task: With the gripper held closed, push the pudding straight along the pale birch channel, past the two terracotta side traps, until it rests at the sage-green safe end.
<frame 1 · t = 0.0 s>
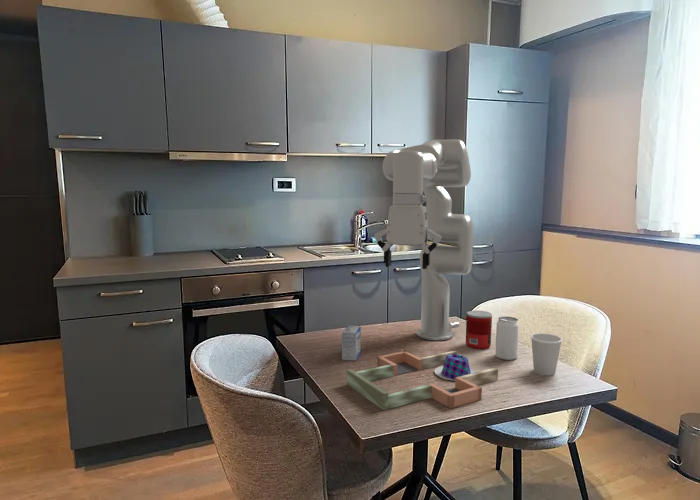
hand: (406, 267, 129), 31 cm above the table, tool pointing down, fingers open, 9 cm apart
canned food: (478, 346, 164), on the table
pudding: (456, 375, 140), on the table
track: (425, 381, 134), on the table
traps: (425, 381, 134), on the table
medicine box: (351, 357, 154), on the table
can: (506, 357, 154), on the table
dixie cup: (544, 372, 142), on the table
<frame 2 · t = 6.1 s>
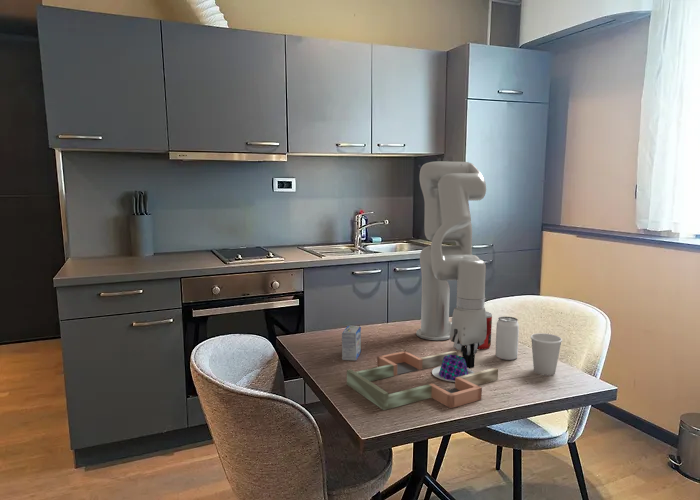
hand: (468, 366, 142), 1 cm above the table, tool pointing down, fingers closed
pudding: (453, 376, 139), on the table, touching gripper
everything else where it was.
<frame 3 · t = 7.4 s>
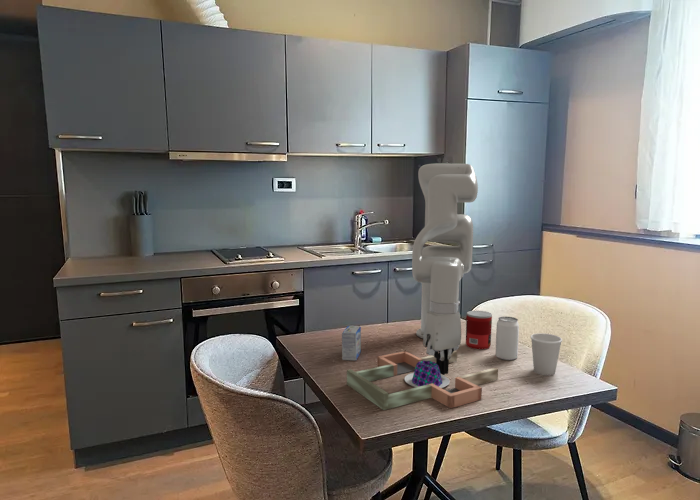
hand: (442, 372, 137), 1 cm above the table, tool pointing down, fingers closed
pudding: (426, 383, 134), on the table, touching gripper
everything else where it was.
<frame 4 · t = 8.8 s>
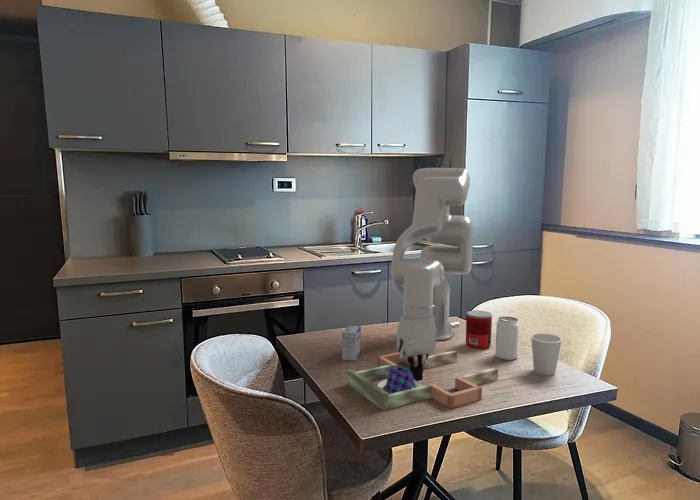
hand: (416, 378, 132), 1 cm above the table, tool pointing down, fingers closed
pudding: (400, 390, 130), on the table, touching gripper
everything else where it was.
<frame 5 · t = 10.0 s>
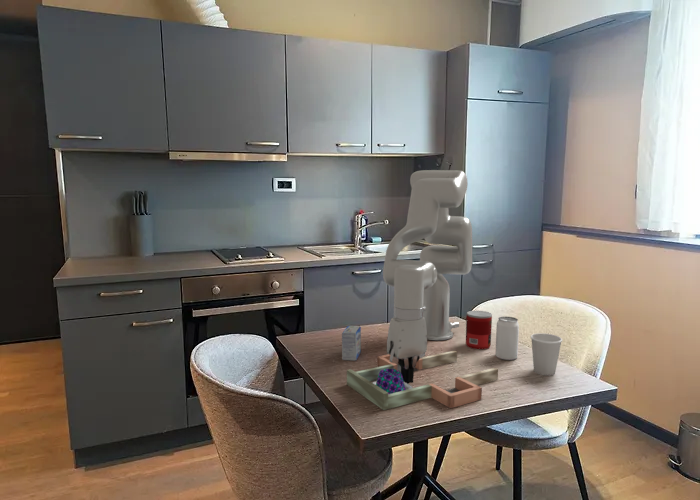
hand: (407, 381, 131), 1 cm above the table, tool pointing down, fingers closed
pudding: (390, 392, 129), on the table
everything else where it was.
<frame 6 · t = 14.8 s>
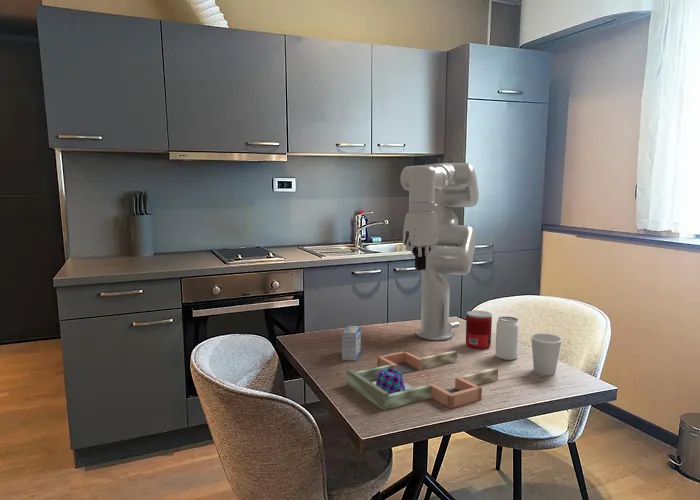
hand: (420, 269, 151), 27 cm above the table, tool pointing down, fingers closed
nothing on the table moved.
at the end: pudding 0.1 cm from the target spot on the track, point -0.5 cm above the track's base; pudding tilted 0° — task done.
